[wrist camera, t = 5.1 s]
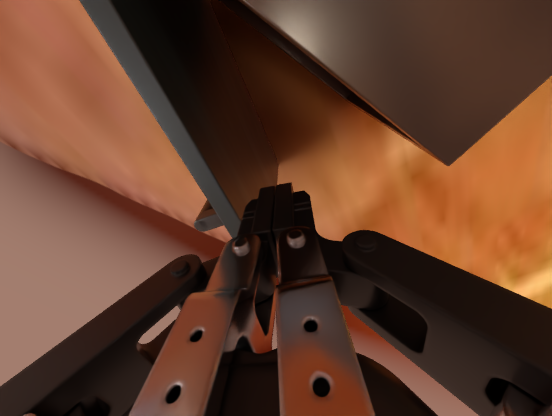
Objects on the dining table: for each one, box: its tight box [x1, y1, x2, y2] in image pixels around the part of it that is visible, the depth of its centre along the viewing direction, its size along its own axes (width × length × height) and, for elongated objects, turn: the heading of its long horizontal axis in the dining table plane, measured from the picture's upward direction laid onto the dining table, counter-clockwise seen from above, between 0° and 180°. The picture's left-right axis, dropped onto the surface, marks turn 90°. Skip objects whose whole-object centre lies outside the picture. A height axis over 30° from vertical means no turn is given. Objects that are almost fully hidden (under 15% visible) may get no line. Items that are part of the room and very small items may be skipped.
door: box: [80, 0, 278, 238], centre depth 18 cm, size 6×17×18 cm, turn 22°
